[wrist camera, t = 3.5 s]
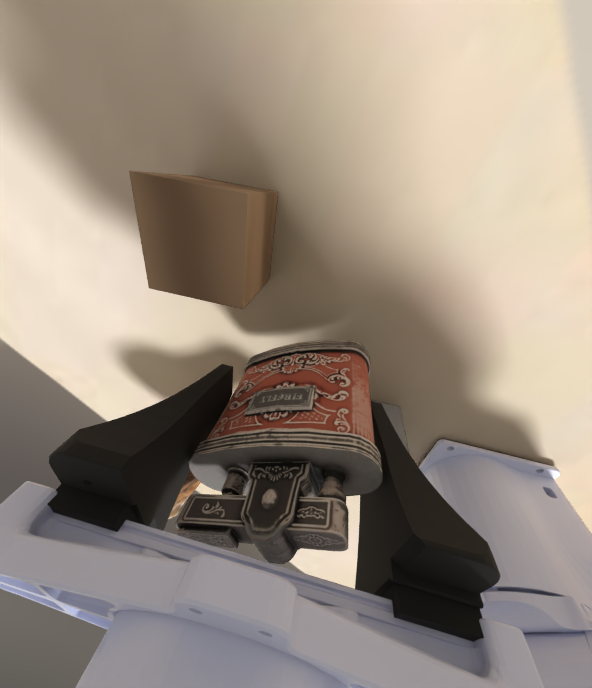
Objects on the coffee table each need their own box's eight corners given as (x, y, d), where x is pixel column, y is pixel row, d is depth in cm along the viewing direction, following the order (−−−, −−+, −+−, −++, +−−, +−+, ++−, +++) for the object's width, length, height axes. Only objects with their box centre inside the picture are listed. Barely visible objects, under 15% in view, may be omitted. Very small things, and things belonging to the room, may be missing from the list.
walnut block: (278, 192, 14) (247, 193, 10) (269, 279, 17) (242, 309, 13) (193, 175, 14) (129, 171, 10) (198, 263, 17) (148, 288, 13)
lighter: (365, 331, 14) (384, 530, 6) (373, 378, 16) (398, 589, 8) (240, 352, 17) (129, 515, 8) (257, 391, 18) (179, 562, 10)
